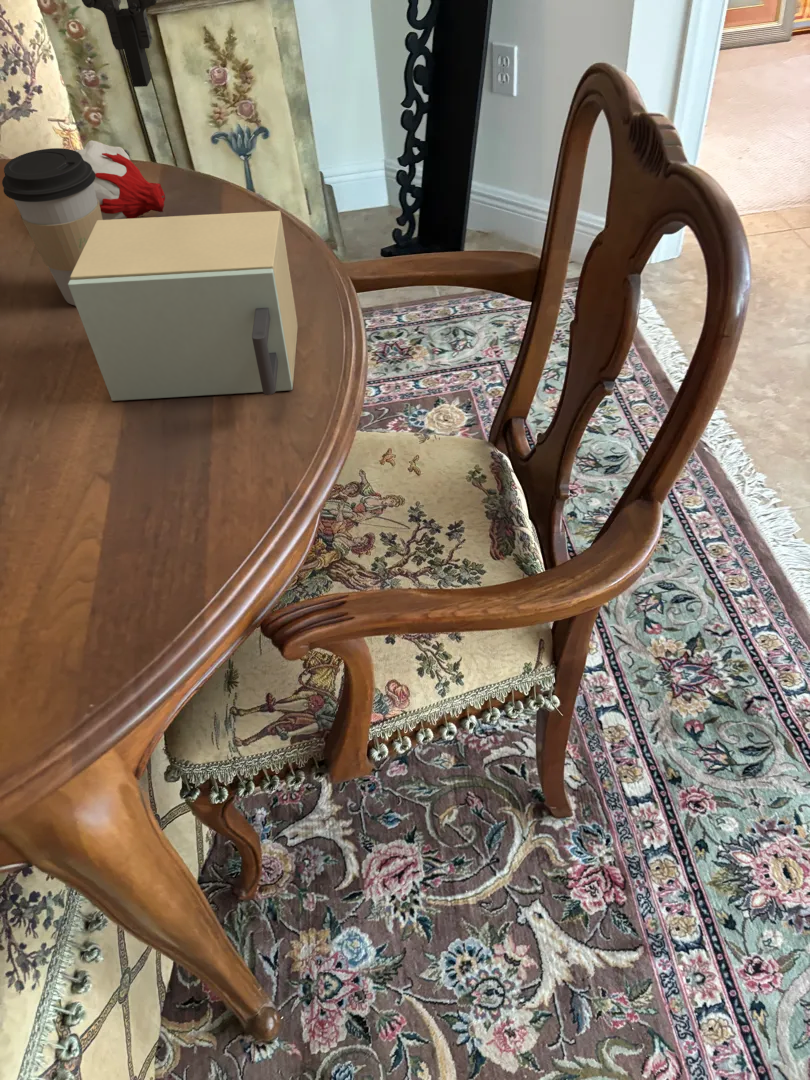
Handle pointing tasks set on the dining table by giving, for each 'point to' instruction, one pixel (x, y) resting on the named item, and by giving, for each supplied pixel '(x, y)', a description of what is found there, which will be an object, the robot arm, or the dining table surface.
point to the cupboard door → (185, 333)
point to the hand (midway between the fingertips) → (142, 82)
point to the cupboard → (194, 252)
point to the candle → (120, 183)
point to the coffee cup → (55, 206)
